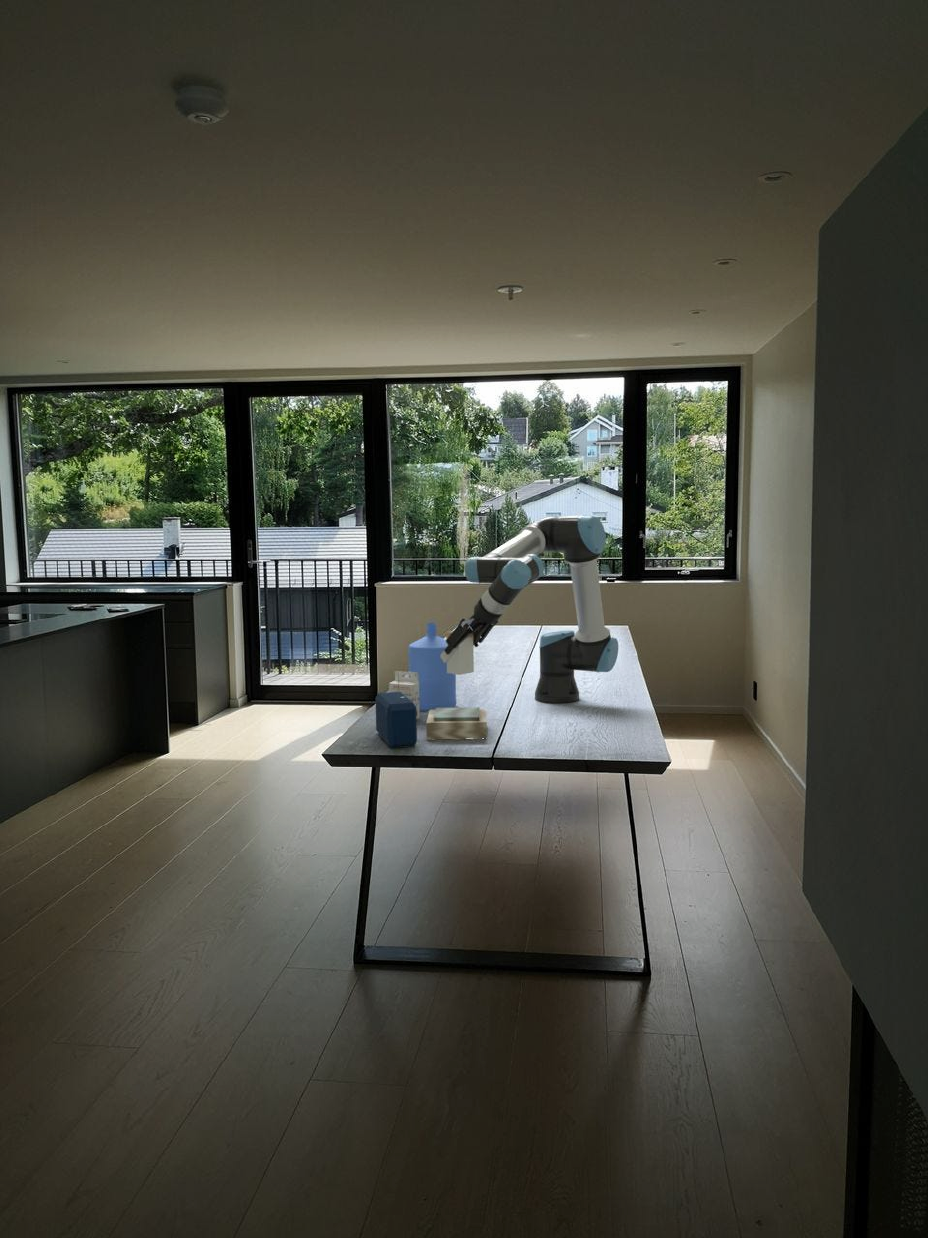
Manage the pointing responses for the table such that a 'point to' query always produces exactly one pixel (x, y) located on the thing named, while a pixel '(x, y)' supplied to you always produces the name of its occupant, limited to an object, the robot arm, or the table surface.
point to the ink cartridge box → (407, 687)
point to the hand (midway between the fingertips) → (451, 658)
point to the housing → (461, 657)
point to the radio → (396, 719)
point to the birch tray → (456, 723)
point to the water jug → (432, 672)
